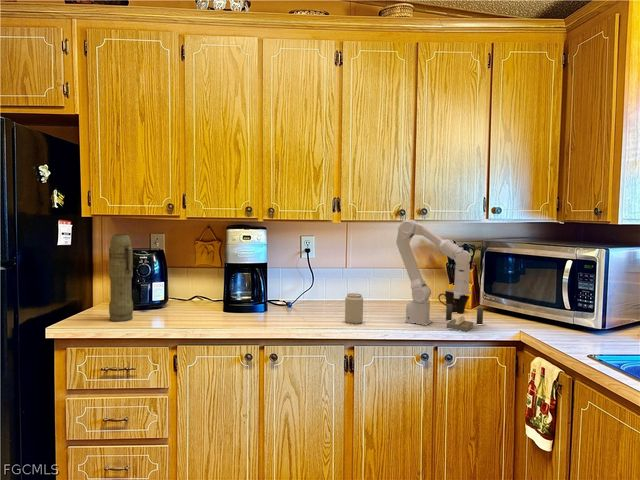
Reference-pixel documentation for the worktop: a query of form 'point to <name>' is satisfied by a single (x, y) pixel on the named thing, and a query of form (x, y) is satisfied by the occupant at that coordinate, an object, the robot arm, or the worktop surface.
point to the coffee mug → (449, 299)
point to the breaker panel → (460, 325)
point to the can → (354, 308)
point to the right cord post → (479, 315)
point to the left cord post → (449, 311)
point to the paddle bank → (460, 320)
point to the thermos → (120, 278)
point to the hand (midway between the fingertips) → (460, 313)
